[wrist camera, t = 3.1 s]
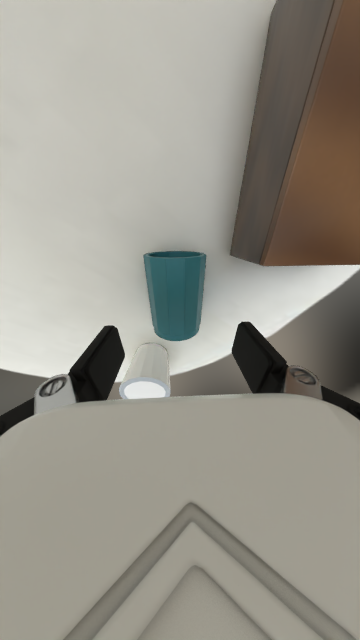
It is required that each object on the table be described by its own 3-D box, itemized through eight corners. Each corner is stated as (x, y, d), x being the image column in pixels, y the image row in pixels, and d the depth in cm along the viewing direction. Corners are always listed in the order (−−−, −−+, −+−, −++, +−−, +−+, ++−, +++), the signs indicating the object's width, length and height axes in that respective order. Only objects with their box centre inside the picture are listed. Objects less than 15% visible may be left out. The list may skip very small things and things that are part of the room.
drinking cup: (149, 251, 15) (138, 258, 10) (200, 250, 16) (213, 257, 11) (156, 315, 20) (151, 342, 15) (196, 314, 20) (204, 340, 15)
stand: (271, 12, 9) (495, -504, 3) (447, 20, 9) (992, -409, 3) (229, 255, 16) (263, 266, 10) (327, 254, 16) (415, 264, 10)
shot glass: (177, 360, 25) (179, 398, 19) (146, 371, 26) (138, 411, 20) (158, 334, 22) (153, 371, 16) (124, 349, 23) (106, 388, 17)
